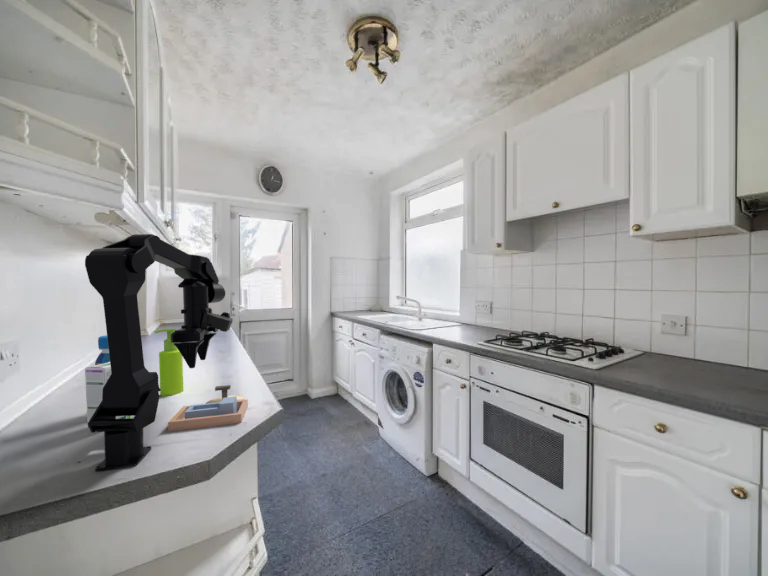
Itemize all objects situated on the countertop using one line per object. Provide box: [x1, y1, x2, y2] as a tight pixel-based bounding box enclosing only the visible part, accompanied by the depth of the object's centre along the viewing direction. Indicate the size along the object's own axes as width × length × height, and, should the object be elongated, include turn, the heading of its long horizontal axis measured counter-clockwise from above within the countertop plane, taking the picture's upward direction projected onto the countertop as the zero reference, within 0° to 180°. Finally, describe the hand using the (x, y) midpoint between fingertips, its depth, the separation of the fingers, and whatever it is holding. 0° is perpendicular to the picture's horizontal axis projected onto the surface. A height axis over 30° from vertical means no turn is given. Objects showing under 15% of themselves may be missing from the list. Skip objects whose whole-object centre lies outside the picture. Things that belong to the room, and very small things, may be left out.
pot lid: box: [204, 384, 246, 404], centre depth 89 cm, size 10×10×5 cm
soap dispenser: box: [153, 328, 184, 397], centre depth 98 cm, size 6×7×20 cm
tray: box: [167, 399, 249, 432], centre depth 78 cm, size 10×15×2 cm, turn 105°
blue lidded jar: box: [94, 334, 110, 366], centre depth 86 cm, size 8×8×20 cm
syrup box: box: [84, 362, 132, 429], centre depth 77 cm, size 6×6×14 cm
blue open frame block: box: [184, 395, 238, 419], centre depth 78 cm, size 10×5×4 cm, turn 106°
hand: (197, 363), depth 85 cm, fingers open, 9 cm apart
